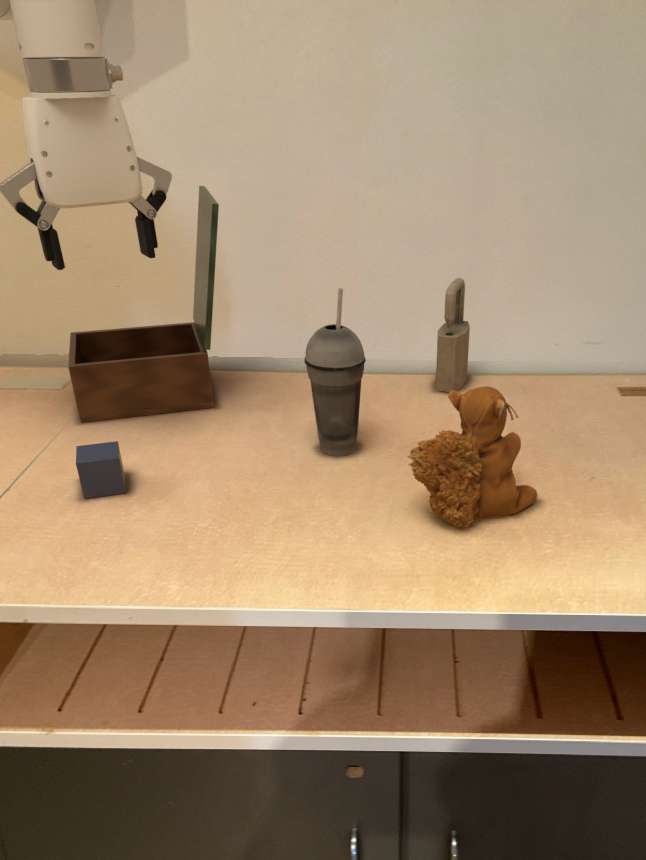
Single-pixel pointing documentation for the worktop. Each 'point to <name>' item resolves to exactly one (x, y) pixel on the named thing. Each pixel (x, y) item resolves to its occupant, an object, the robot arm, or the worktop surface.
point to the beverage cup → (336, 384)
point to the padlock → (453, 341)
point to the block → (100, 469)
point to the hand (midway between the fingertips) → (104, 261)
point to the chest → (139, 371)
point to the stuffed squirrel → (473, 462)
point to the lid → (205, 265)
